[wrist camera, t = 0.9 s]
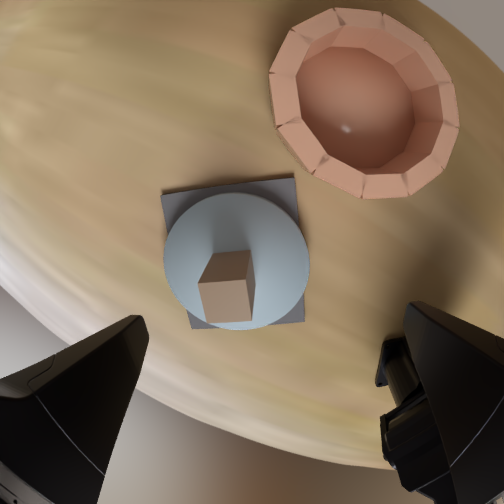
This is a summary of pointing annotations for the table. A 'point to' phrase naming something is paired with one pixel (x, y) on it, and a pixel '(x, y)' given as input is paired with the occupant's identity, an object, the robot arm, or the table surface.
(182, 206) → the mat
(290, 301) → the lid
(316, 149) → the bowl
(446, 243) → the table surface
